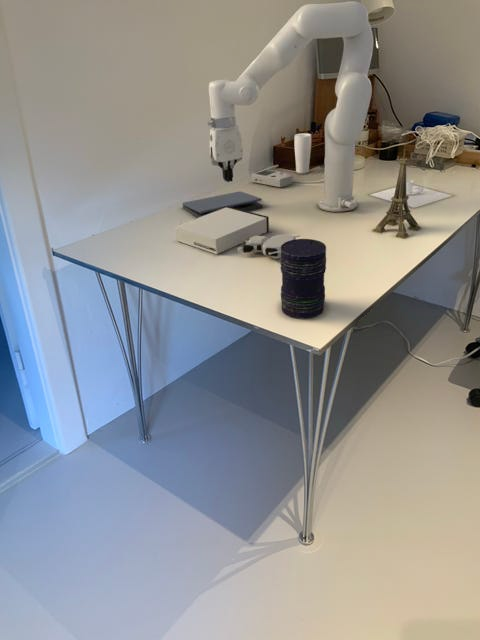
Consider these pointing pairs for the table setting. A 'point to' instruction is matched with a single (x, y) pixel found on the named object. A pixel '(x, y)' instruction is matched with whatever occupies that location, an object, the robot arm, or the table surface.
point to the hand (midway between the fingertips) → (228, 180)
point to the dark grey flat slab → (242, 207)
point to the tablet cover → (221, 201)
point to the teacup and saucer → (414, 195)
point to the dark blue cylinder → (303, 278)
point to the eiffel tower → (399, 201)
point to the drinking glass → (302, 152)
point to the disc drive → (222, 229)
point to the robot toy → (266, 245)
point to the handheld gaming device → (272, 178)
